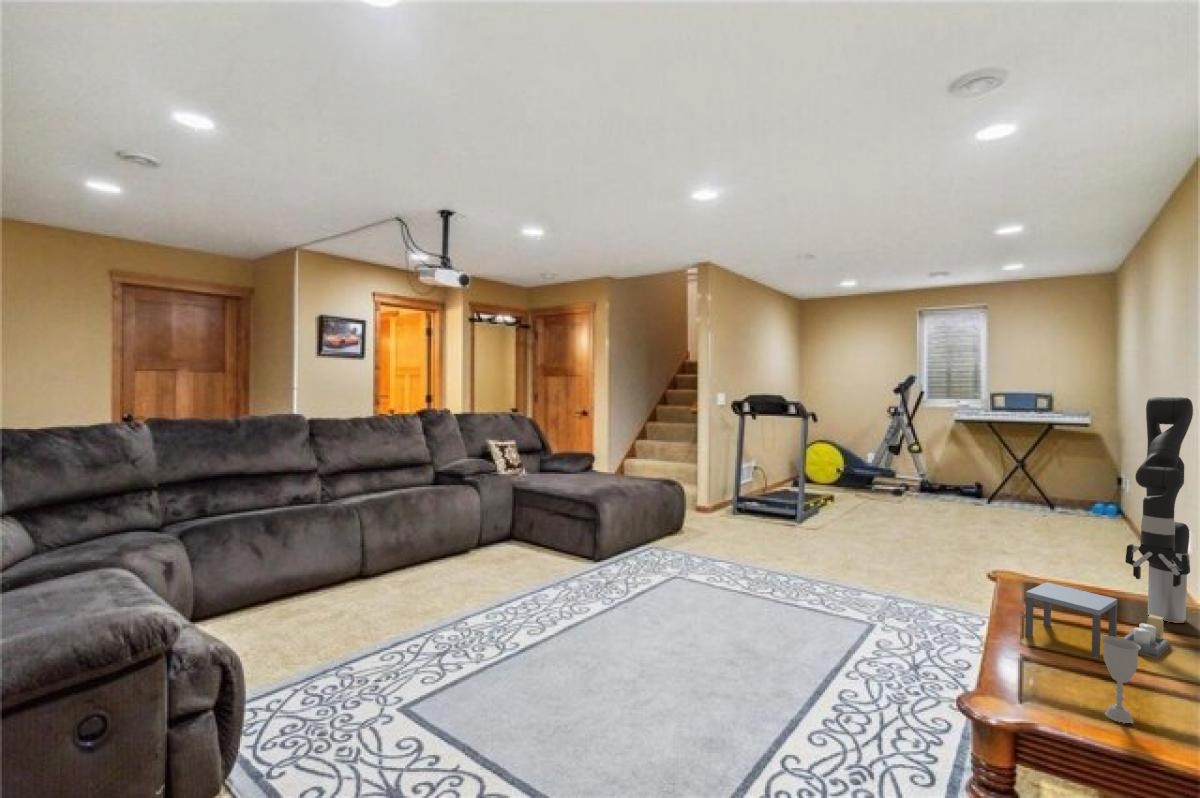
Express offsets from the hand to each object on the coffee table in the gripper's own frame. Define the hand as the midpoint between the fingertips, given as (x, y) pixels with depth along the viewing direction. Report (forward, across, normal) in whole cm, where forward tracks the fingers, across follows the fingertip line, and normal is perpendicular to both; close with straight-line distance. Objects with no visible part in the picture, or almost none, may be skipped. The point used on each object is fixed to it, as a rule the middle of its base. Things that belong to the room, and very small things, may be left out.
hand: (1156, 582), depth 178 cm
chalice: (+19, -8, +65) cm, 68 cm away
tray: (+18, 0, +8) cm, 19 cm away
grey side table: (+18, +14, +23) cm, 32 cm away
